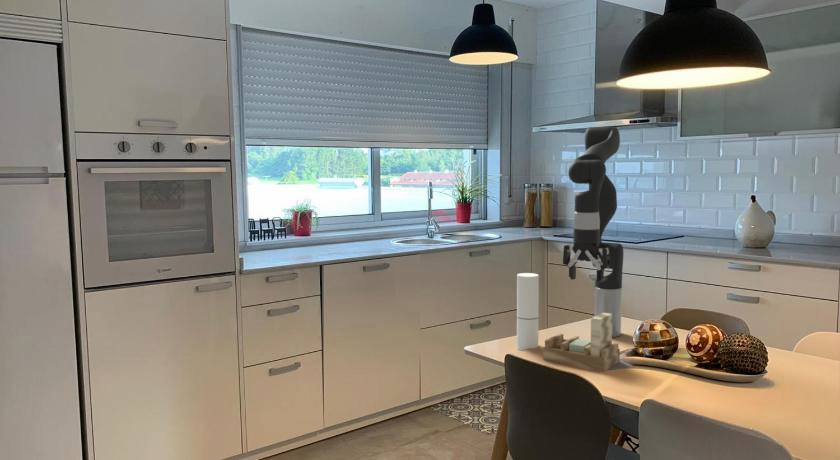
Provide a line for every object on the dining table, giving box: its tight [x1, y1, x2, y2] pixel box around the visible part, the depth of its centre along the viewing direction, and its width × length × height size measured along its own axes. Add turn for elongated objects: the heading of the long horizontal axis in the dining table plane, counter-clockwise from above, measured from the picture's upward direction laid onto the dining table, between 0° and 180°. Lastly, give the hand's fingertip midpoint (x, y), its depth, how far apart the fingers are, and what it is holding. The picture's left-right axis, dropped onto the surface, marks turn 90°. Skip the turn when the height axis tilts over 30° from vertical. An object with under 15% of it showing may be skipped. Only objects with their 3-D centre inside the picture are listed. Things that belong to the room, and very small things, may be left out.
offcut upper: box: [569, 338, 591, 354], centre depth 201 cm, size 7×5×3 cm, turn 145°
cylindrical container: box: [516, 272, 540, 352], centre depth 218 cm, size 7×7×25 cm
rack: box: [542, 332, 621, 373], centre depth 201 cm, size 12×19×7 cm, turn 51°
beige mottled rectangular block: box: [590, 313, 613, 357], centre depth 197 cm, size 9×3×15 cm, turn 141°
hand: (585, 280), depth 196 cm, fingers open, 8 cm apart
